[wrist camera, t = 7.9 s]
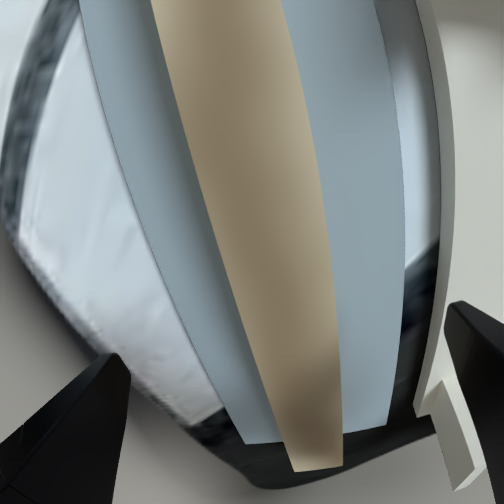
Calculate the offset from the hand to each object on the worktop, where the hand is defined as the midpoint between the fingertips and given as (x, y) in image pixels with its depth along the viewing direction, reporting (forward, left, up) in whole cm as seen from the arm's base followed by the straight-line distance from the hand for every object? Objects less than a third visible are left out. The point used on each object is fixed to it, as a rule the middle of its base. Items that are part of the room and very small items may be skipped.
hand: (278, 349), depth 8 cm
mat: (0, 0, -6) cm, 6 cm away
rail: (0, 0, -5) cm, 5 cm away
